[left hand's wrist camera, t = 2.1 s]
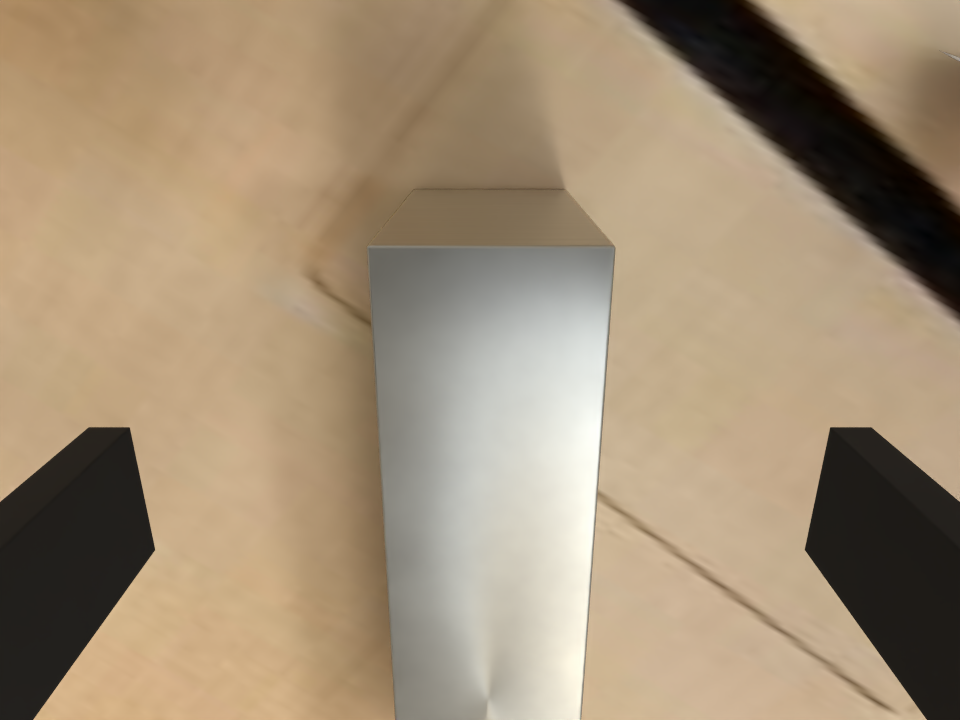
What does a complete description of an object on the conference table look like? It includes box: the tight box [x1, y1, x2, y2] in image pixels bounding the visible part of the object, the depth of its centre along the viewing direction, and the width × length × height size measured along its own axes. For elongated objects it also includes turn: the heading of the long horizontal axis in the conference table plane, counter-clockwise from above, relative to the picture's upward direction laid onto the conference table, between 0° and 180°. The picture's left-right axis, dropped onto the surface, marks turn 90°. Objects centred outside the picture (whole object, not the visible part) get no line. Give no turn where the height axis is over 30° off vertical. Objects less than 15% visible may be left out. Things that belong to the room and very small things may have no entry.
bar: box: [367, 189, 615, 720], centre depth 22 cm, size 24×5×9 cm, turn 0°
